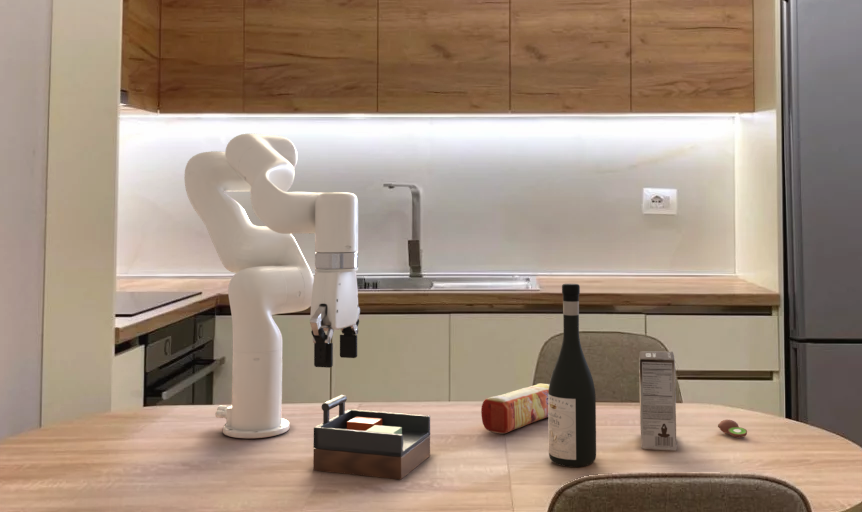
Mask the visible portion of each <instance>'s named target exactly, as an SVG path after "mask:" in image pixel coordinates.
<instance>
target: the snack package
mask: <svg viewBox="0 0 862 512" xmlns="http://www.w3.org/2000/svg"><path fill="white" fill-rule="evenodd" d="M549 384H550V383H536V384H534V385H530V386H528V387H523V388H519V389H516V390H513V391H509V392H506V393H503V394H499V395H494V396H490V397H487V398H485V399H484V400H483V401H482V404H481V409H480V413H481V414H480V415H481V422H482V425H483V427H484V429H485V430H487V431H489V432H491V433H494V434H499V435H506V434H507V433H510V432H512V431H514V430H517V429H520V428H522V427H525V426H527V425H530V424H532V423H535V422H537V421H541V420H543V419H546V418H548V391H549Z"/></svg>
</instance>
